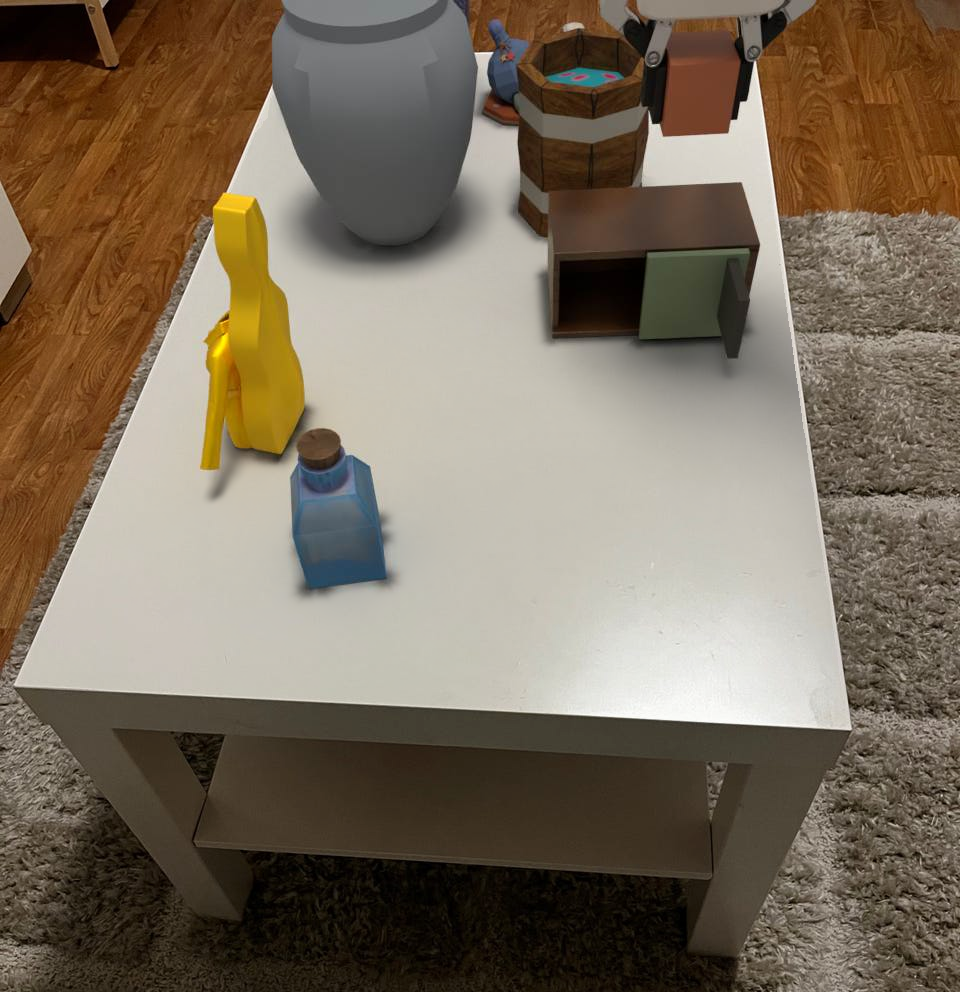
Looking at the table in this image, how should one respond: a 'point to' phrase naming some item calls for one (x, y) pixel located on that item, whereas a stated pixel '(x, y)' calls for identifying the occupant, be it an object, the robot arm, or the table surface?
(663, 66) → the robot arm
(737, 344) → the door
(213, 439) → the figure statuette
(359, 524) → the perfume bottle
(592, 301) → the cabinet
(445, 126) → the vase
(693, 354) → the table surface
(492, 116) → the model
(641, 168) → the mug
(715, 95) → the block
